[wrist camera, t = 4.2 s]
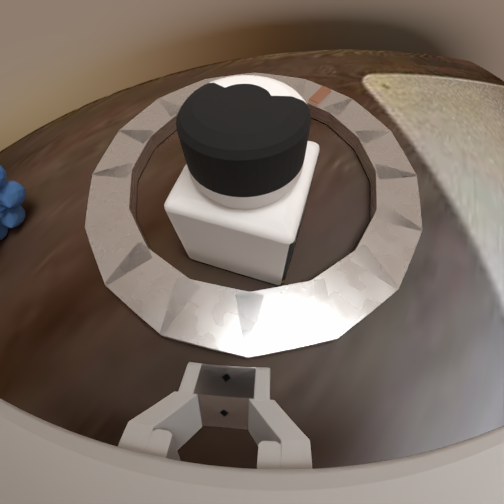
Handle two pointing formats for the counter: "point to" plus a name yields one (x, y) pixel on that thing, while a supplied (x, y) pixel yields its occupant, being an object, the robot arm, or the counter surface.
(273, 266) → the medicine bottle
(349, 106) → the turntable ring
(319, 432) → the counter surface
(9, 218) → the grapes
